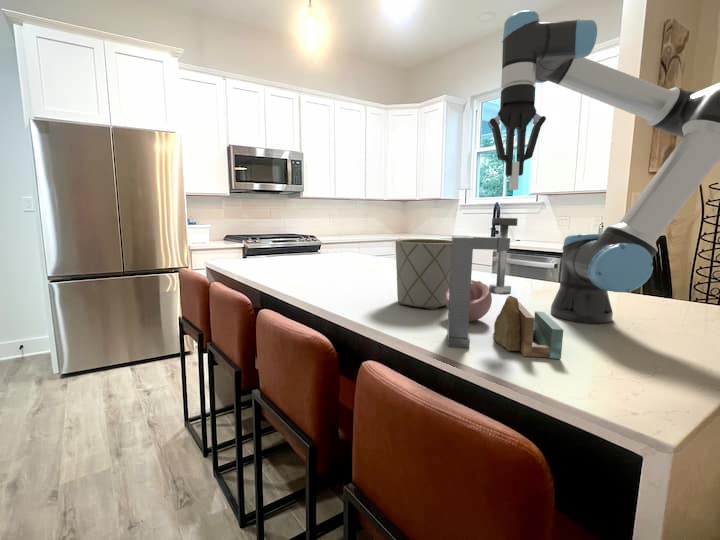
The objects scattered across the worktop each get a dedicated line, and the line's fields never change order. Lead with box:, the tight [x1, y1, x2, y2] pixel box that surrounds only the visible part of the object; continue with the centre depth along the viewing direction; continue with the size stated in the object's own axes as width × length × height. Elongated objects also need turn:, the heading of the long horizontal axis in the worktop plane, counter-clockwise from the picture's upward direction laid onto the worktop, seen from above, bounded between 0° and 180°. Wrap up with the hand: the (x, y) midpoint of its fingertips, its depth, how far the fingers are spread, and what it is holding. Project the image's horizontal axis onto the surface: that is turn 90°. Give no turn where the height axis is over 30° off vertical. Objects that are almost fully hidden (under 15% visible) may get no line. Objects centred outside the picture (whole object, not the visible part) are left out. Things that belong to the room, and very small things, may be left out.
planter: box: [395, 238, 452, 311], centre depth 120 cm, size 19×19×20 cm
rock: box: [492, 295, 521, 352], centre depth 83 cm, size 11×9×10 cm
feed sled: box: [518, 301, 564, 360], centre depth 82 cm, size 7×14×8 cm, turn 169°
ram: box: [488, 217, 518, 296], centre depth 82 cm, size 5×5×16 cm
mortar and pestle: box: [445, 279, 493, 322], centre depth 102 cm, size 12×12×11 cm
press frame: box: [446, 235, 511, 349], centre depth 84 cm, size 12×9×24 cm
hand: (513, 189), depth 93 cm, fingers closed
